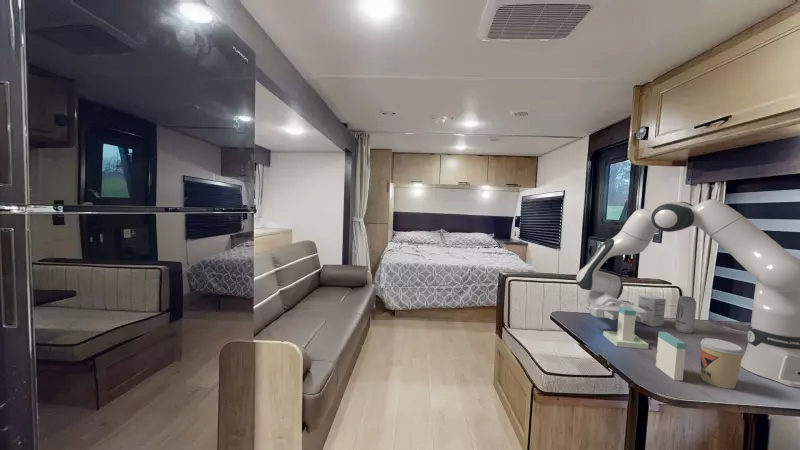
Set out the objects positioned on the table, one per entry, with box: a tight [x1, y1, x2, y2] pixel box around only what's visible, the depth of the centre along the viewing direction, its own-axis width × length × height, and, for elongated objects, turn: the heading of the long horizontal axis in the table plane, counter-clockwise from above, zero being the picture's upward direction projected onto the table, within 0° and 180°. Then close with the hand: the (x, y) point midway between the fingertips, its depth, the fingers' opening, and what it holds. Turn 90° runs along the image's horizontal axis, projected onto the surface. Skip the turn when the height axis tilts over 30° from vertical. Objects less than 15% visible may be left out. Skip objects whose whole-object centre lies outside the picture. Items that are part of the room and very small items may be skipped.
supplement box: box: [637, 293, 667, 328], centre depth 151 cm, size 7×7×13 cm
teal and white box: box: [655, 331, 687, 382], centre depth 106 cm, size 3×9×12 cm, turn 172°
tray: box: [602, 330, 649, 350], centre depth 130 cm, size 11×11×2 cm
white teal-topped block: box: [616, 307, 636, 341], centre depth 129 cm, size 4×4×12 cm
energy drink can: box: [675, 295, 697, 334], centre depth 142 cm, size 6×6×15 cm
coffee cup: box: [700, 337, 744, 390], centre depth 101 cm, size 9×9×12 cm
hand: (627, 318), depth 128 cm, fingers open, 8 cm apart
